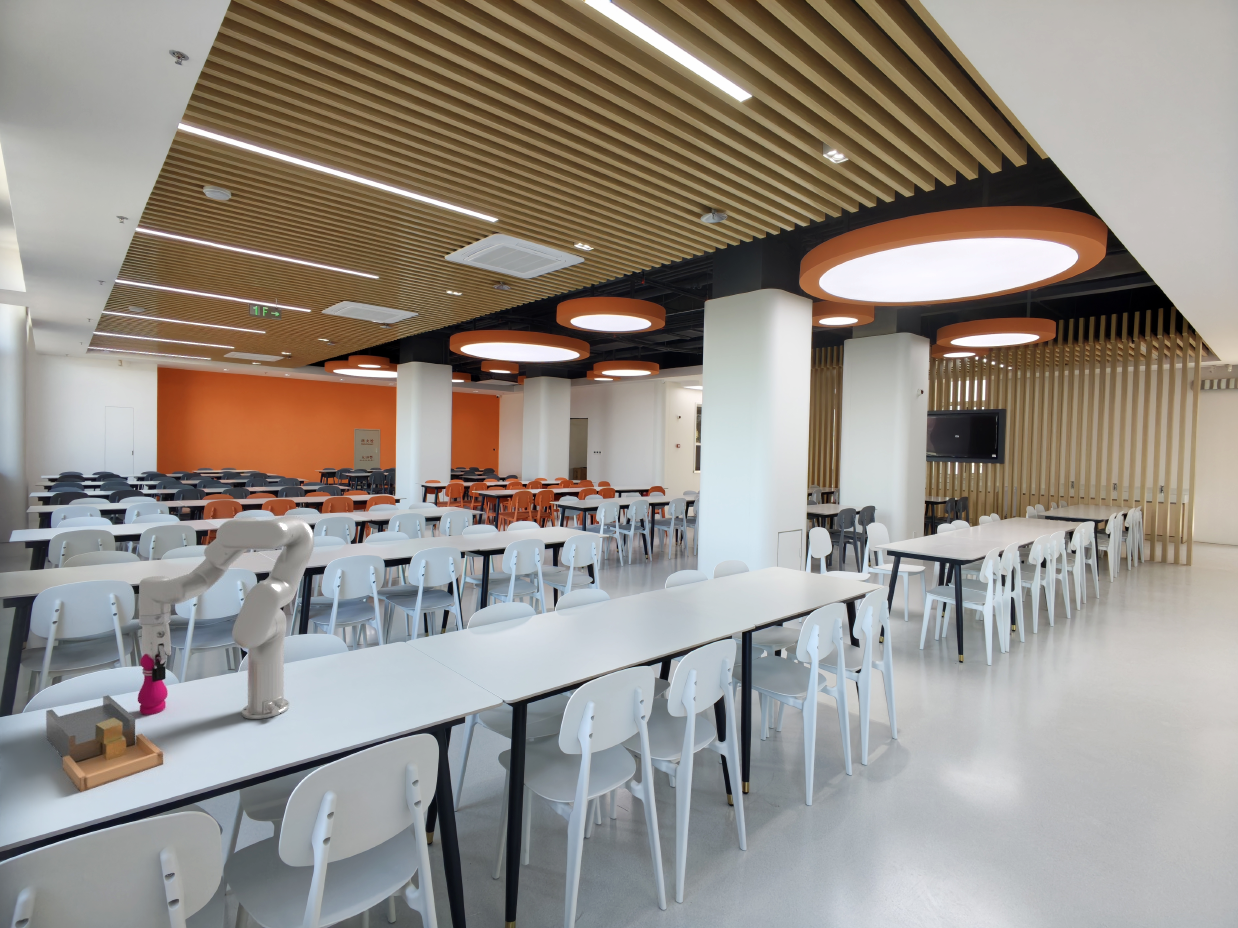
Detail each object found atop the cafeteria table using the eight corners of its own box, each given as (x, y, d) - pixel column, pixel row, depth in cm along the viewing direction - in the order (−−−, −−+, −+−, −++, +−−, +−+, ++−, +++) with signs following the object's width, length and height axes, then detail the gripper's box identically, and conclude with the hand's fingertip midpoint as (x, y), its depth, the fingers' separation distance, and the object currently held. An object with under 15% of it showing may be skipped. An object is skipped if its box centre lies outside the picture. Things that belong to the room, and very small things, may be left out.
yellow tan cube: (122, 736, 159) (122, 722, 158) (103, 744, 155) (104, 729, 155) (113, 731, 160) (113, 717, 160) (95, 738, 157) (95, 724, 156)
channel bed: (135, 745, 164) (135, 718, 163) (69, 766, 153) (69, 736, 153) (108, 720, 178) (108, 695, 178) (46, 737, 167) (46, 710, 167)
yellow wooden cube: (122, 749, 160) (126, 754, 158) (102, 755, 157) (106, 760, 155) (122, 734, 160) (126, 739, 158) (102, 739, 157) (106, 744, 155)
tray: (163, 763, 155) (163, 752, 154) (80, 791, 142) (80, 779, 142) (141, 744, 164) (141, 733, 164) (62, 768, 151) (62, 756, 151)
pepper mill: (152, 717, 181) (152, 654, 178) (131, 713, 182) (131, 649, 179) (173, 705, 188) (174, 644, 185) (153, 701, 189) (153, 640, 186)
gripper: (180, 620, 181) (180, 681, 181) (160, 610, 191) (160, 667, 192) (149, 626, 175) (149, 688, 175) (130, 615, 185) (130, 674, 186)
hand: (155, 677), depth 183 cm, fingers closed on pepper mill, 5 cm apart
